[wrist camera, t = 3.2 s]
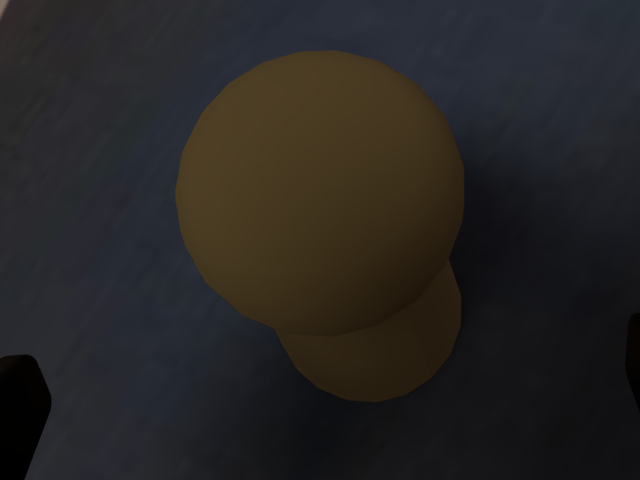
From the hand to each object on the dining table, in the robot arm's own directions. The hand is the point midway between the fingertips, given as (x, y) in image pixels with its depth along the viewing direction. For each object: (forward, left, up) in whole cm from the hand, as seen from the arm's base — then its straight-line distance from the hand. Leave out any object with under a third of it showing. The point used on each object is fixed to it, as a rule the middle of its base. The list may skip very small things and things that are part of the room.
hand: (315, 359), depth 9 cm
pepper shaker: (+1, +3, -10) cm, 11 cm away
